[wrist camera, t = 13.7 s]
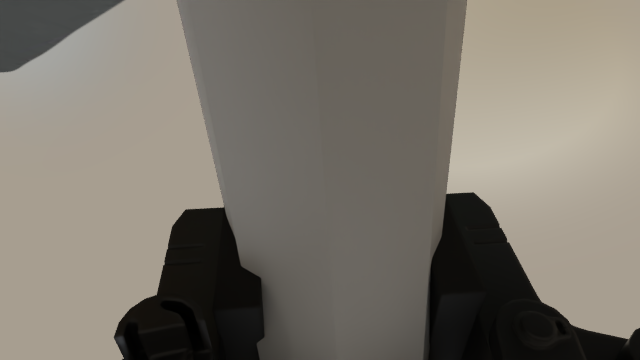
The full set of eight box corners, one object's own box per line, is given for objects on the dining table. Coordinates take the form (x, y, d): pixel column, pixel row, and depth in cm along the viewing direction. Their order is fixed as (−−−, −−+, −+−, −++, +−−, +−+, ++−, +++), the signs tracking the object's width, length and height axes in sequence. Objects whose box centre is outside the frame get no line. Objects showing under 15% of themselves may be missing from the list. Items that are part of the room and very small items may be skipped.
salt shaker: (433, -49, 13) (477, 465, 11) (224, -26, 13) (243, 467, 12) (491, -280, 7) (596, 714, 6) (112, -223, 7) (127, 700, 6)
